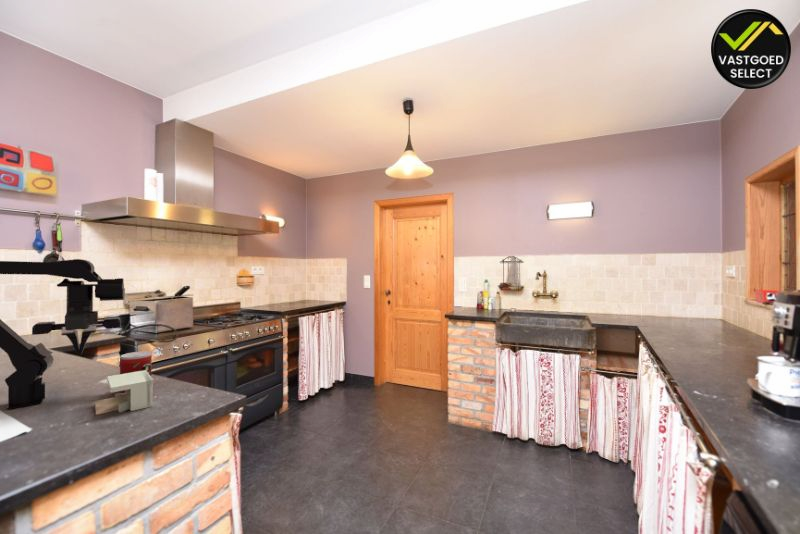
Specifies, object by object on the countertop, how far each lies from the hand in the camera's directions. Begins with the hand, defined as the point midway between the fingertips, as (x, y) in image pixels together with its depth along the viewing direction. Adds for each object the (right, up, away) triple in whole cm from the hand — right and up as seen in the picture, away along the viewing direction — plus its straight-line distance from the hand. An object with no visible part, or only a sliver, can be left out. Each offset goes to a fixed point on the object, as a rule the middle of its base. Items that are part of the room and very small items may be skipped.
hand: (79, 354), depth 101 cm
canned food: (+13, -12, +4) cm, 19 cm away
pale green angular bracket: (+21, -12, -6) cm, 25 cm away
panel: (+18, -12, -8) cm, 24 cm away
